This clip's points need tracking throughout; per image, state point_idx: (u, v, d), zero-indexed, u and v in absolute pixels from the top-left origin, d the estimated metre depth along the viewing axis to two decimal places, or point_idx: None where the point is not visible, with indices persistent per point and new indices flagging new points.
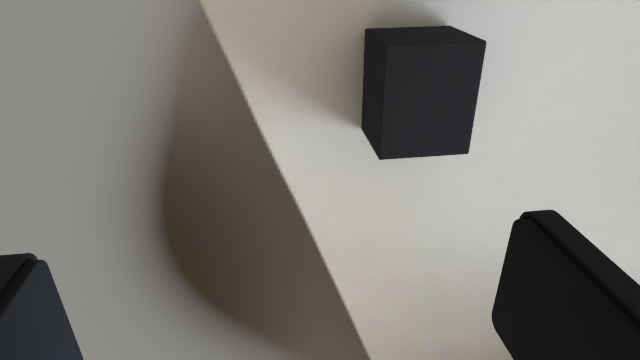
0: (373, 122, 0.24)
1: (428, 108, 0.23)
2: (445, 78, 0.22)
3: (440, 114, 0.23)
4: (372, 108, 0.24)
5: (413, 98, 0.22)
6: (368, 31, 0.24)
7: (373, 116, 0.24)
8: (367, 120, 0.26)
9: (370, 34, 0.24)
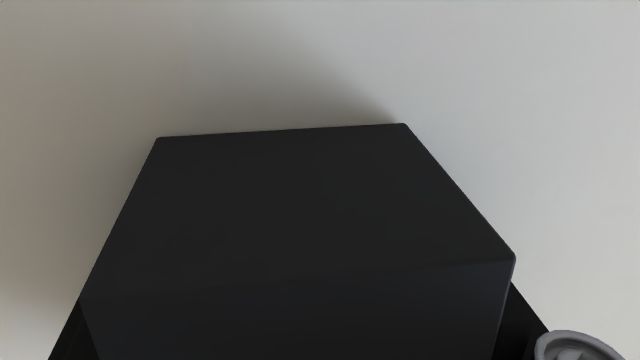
0: None
1: None
2: None
3: None
4: None
5: None
6: (150, 152, 0.08)
7: None
8: None
9: None
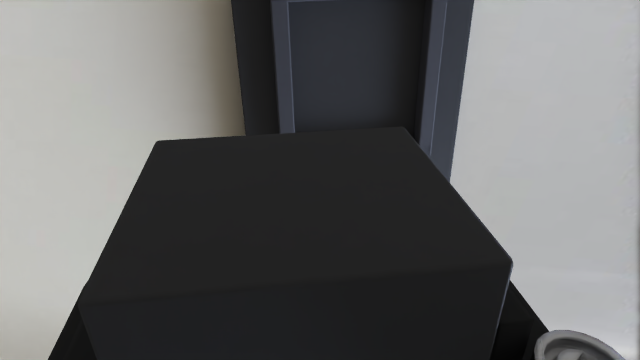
0: None
1: None
2: None
3: None
4: None
5: None
6: (150, 156, 0.08)
7: None
8: None
9: None
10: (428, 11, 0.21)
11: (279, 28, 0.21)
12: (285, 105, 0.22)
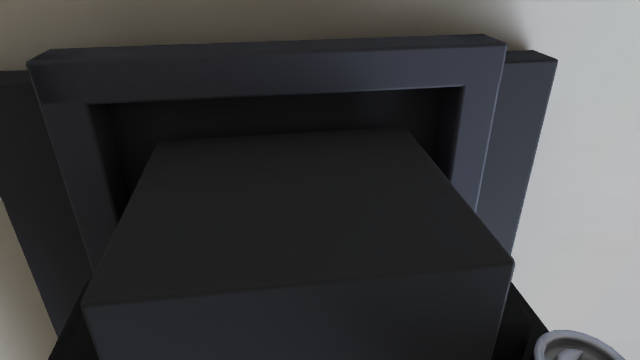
0: None
1: None
2: None
3: None
4: None
5: None
6: (151, 156, 0.08)
7: None
8: None
9: (143, 174, 0.08)
10: (450, 117, 0.09)
11: (76, 165, 0.08)
12: None
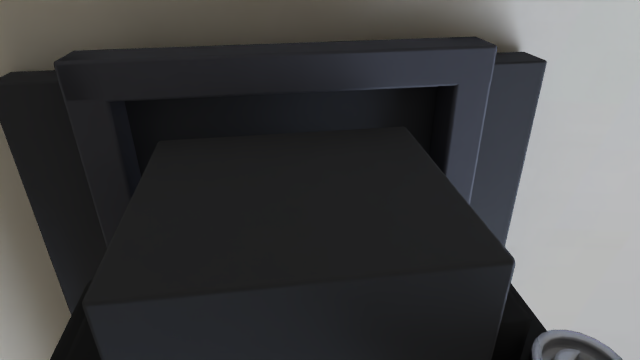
0: None
1: None
2: None
3: None
4: None
5: None
6: (152, 156, 0.08)
7: None
8: None
9: (144, 174, 0.08)
10: (445, 115, 0.10)
11: (97, 158, 0.09)
12: None
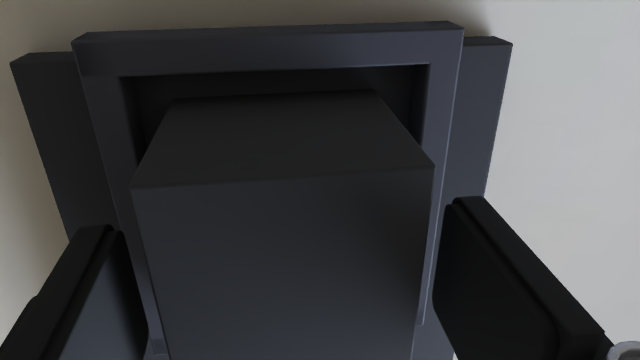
0: None
1: (289, 323, 0.09)
2: (326, 258, 0.08)
3: (325, 334, 0.09)
4: None
5: (244, 307, 0.08)
6: (169, 108, 0.10)
7: None
8: None
9: None
10: (420, 91, 0.11)
11: (108, 128, 0.10)
12: (144, 261, 0.12)
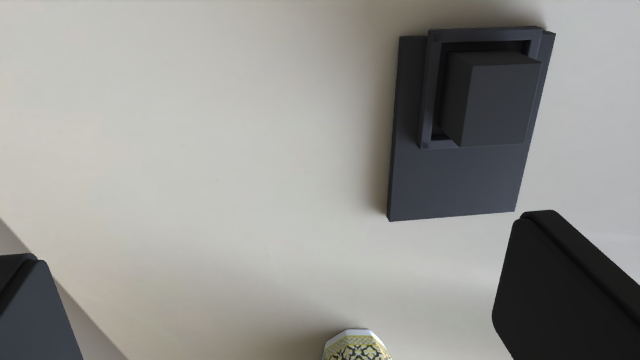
0: (453, 120, 0.33)
1: (497, 110, 0.31)
2: (511, 89, 0.30)
3: (506, 115, 0.31)
4: (453, 110, 0.33)
5: (488, 103, 0.31)
6: (450, 53, 0.33)
7: (454, 116, 0.33)
8: (446, 119, 0.34)
9: (453, 56, 0.32)
10: (526, 49, 0.33)
11: (434, 59, 0.32)
12: (429, 108, 0.34)
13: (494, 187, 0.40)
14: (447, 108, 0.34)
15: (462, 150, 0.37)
